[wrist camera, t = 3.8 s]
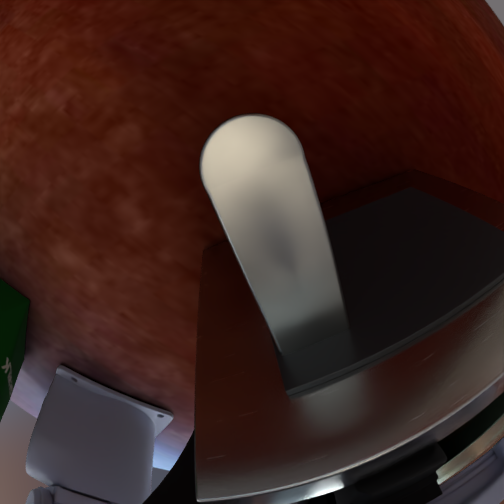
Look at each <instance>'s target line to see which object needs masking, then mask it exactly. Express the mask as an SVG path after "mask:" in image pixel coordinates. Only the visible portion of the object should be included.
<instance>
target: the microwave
mask: <svg viewBox="0 0 504 504" xmlns="http://www.w3.org/2000/svg"><path fill="white" fill-rule="evenodd" d="M503 434H504V392H503V393H502V394H501V395H499V396H498V397H497V398H496V399H495V400H494V401H493V402H491V403H490V404H489V405H488V406H487V407H485V408H484V409H483V410H482V411H480V412H479V413H478V414H477V415H475V416H474V417H473V418H471V419H470V420H469V421H467V422H466V423H465V424H463V425H462V426H461V427H459V428H458V429H456V430H455V431H453V432H452V433H451V434H449V435H448V436H446V437H445V438H443V439H441V440H440V441H438V442H437V444H438V445H439V446H440V447H441V448H442V450H443V451H444V453H445V455H446V457H447V461H446V462H445V464H444V465H442V466H441V467H440V468H439V469H438V470H437V471H436V473H437V475H438V479H437V482H438V484H440V483H442V482H443V481H445V480H446V479H448V478H449V477H451V476H452V475H454V474H455V473H456V472H458V471H459V470H461V469H462V468H463V467H465V466H466V465H467V464H469V463H470V462H471V461H473V460H474V459H475V458H476V457H478V456H479V455H480V454H481V453H482V452H484V451H485V450H486V449H487V448H488V447H490V446H491V445H492V444H493V443H494V442H495V441H496V440H497V439H498V438H500V437H501V436H502V435H503ZM289 504H337V503H336V499H335V495H334V491H332V492H329V493H326V494H323V495H320V496H316V497H313V498H309V499H305V500H302V501H298V502H294V503H289Z"/></svg>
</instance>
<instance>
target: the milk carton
mask: <svg viewBox="0 0 504 504" xmlns="http://www.w3.org/2000/svg"><path fill="white" fill-rule="evenodd" d="M29 303H30V300H28V299H27V298H26V297H24V296H23V295H21V294H20V293H19V292H17V291H16V290H15V289H13V288H12V287H11V286H9V285H8V284H7V283H5V282H4V281H3V280H2V279H0V421H1V419H2V416H3V414H4V412H5V409H6V407H7V405H8V402H9V400H10V397H11V394H12V391H13V388H14V385H15V383H16V380H17V377H18V374H19V371H20V369H21V366H22V363H23V361H24V354H25V338H26V327H27V318H28V310H29Z"/></svg>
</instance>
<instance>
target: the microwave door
mask: <svg viewBox="0 0 504 504" xmlns="http://www.w3.org/2000/svg"><path fill="white" fill-rule="evenodd" d="M199 173H200V178H201V181H202V184H203V187H204V189H205V191H206V193H207V195H208V198H209V200H210V202H211V204H212V207H213V209H214V211H215V213H216V216H217V218H218V220H219V222H220V225H221V227H222V229H223V231H224V233H225V236H226V238H227V241H225V242H222V243H220V244H217V245H215V246H213V247H210V248H208V249H205V250H203V255H202V267H201V279H200V292H199V307H198V324H197V343H196V368H195V411H194V450H195V490H196V500H197V501H198V502H200V503H203V504H289V503H294V502H298V501H302V500H305V499H309V498H313V497H316V496H320V495H323V494H326V493H329V492H332V491H335V490H338V489H341V488H344V487H347V486H349V485H352V484H355V483H357V482H360V481H362V480H365V479H367V478H369V477H372V476H374V475H376V474H379V473H381V472H383V471H385V470H387V469H389V468H391V467H393V466H396V465H398V464H400V463H401V462H403V461H405V460H407V459H409V458H411V457H413V456H415V455H416V454H418V453H420V452H422V451H423V450H425V449H427V448H429V447H430V446H432V445H433V444H435V443H437V442H438V441H440V440H441V439H443V438H445V437H446V436H448V435H449V434H451V433H452V432H453V431H455V430H456V429H458V428H459V427H461V426H462V425H463V424H465V423H466V422H467V421H469V420H470V419H471V418H473V417H474V416H475V415H477V414H478V413H479V412H480V411H482V410H483V409H484V408H485V407H487V406H488V405H489V404H490V403H491V402H493V401H494V400H495V399H496V398H497V397H498V396H499V395H501V394H502V393H503V392H504V204H503V203H501V202H499V201H496V200H494V199H492V198H490V197H487V196H485V195H483V194H480V193H478V192H476V191H473V190H471V189H468V188H466V187H463V186H461V185H458V184H456V183H453V182H450V181H447V180H445V179H442V178H439V177H436V176H433V175H430V174H427V173H424V172H421V171H418V170H415V169H414V170H411V171H408V172H405V173H402V174H400V175H397V176H394V177H391V178H389V179H386V180H383V181H380V182H378V183H375V184H372V185H370V186H367V187H364V188H362V189H359V190H356V191H353V192H351V193H348V194H345V195H343V196H340V197H337V198H335V199H332V200H330V201H327V202H324V203H322V204H320V202H319V199H318V195H317V192H316V189H315V185H314V182H313V179H312V176H311V172H310V169H309V166H308V163H307V160H306V157H305V154H304V150H303V147H302V145H301V142H300V140H299V139H298V137H297V135H296V134H295V133H294V132H293V130H292V129H291V128H290V127H289V126H287V125H286V124H285V123H283V122H282V121H280V120H278V119H277V118H274V117H272V116H269V115H265V114H259V113H247V114H241V115H237V116H234V117H232V118H230V119H227V120H226V121H224V122H222V123H221V124H220V125H219V126H217V127H216V128H215V129H214V130H213V131H212V132H211V133H210V135H209V136H208V138H207V139H206V141H205V143H204V145H203V148H202V150H201V154H200V159H199Z"/></svg>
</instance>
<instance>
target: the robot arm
mask: <svg viewBox="0 0 504 504" xmlns="http://www.w3.org/2000/svg"><path fill="white" fill-rule="evenodd" d="M172 420H173V414H172V413H171V412H169V411H166V410H163V409H160V408H157V407H154V406H152V405H149V404H146V403H143V402H141V401H138V400H136V399H133V398H131V397H128V396H126V395H123V394H121V393H118V392H116V391H114V390H112V389H109V388H107V387H105V386H103V385H100V384H98V383H96V382H94V381H92V380H90V379H88V378H86V377H84V376H82V375H80V374H78V373H76V372H74V371H72V370H70V369H68V368H67V367H65V366H63V365H59V366H58V368H57V370H56V375H55V377H54V379H53V382H52V384H51V386H50V389H49V391H48V393H47V396H46V397H45V399H44V401H43V404H42V408H41V411H40V413H39V416H38V419H37V422H36V424H35V427H34V430H33V433H32V436H31V439H30V444H29V447H28V453H27V458H26V472H27V474H29V475H30V476H31V477H33V478H35V479H37V480H39V481H41V482H43V483H44V484H46V485H48V486H49V487H47V488H43V487H38V488H37V489H33V490H31V491H30V493H29V495H28V498H27V501H26V504H203V503H200V502H198V501H197V500H196V490H195V450H194V431H193V433H192V435H191V437H190V439H189V441H188V443H187V445H186V447H185V448H184V450H183V452H182V453H181V455H180V457H179V458H178V460H177V462H176V463H175V465H174V466H173V467H172V469H171V470H170V472H169V473H168V474H167V476H166V477H165V478H164V480H163V481H162V482H161V483H160V485H159V486H158V487H157V488H156V489H155V490H154V491H153V492H152V494H151V481H152V466H153V452H154V441H155V437H156V436H157V435H158V434H159V433H160V432H161V431H162V430H163V429H164V428H165V427H166V426H167V425H168V424H169V423H170V422H171V421H172ZM446 461H447V457H446V455H445V453H444V451H443V450H442V448H441V447H440V446H439V445H438V444H437V443H435V444H433V445H432V446H430V447H429V448H427V449H425V450H423V451H422V452H420V453H418V454H416V455H415V456H413V457H411V458H409V459H407V460H405V461H403V462H401V463H400V464H398V465H396V466H393V467H391V468H389V469H387V470H385V471H383V472H381V473H379V474H376V475H374V476H372V477H369V478H367V479H365V480H362V481H360V482H357V483H355V484H352V485H349V486H347V487H344V488H341V489H338V490H335V491H334V495H335V499H336V503H337V504H499V503H500V502H501V501H502V500H503V499H504V437H503V438H502V439H501V440H499V441H498V442H497V443H496V445H494V446H493V448H492V449H490V450H489V451H488V452H487V453H486V454H484V455H483V456H482V457H480V458H479V459H478V460H476V461H475V462H474V463H473V464H471V465H470V466H468V467H467V468H465V469H464V470H463V471H461V472H460V473H458V474H457V475H455V476H454V477H452V478H451V479H449V480H448V481H446V482H444V483H443V484H441V485H439V484H438V482H437V479H438V475H437V473H436V471H437V470H438V469H439V468H440V467H441V466H442V465H444V464H445V462H446Z"/></svg>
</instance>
